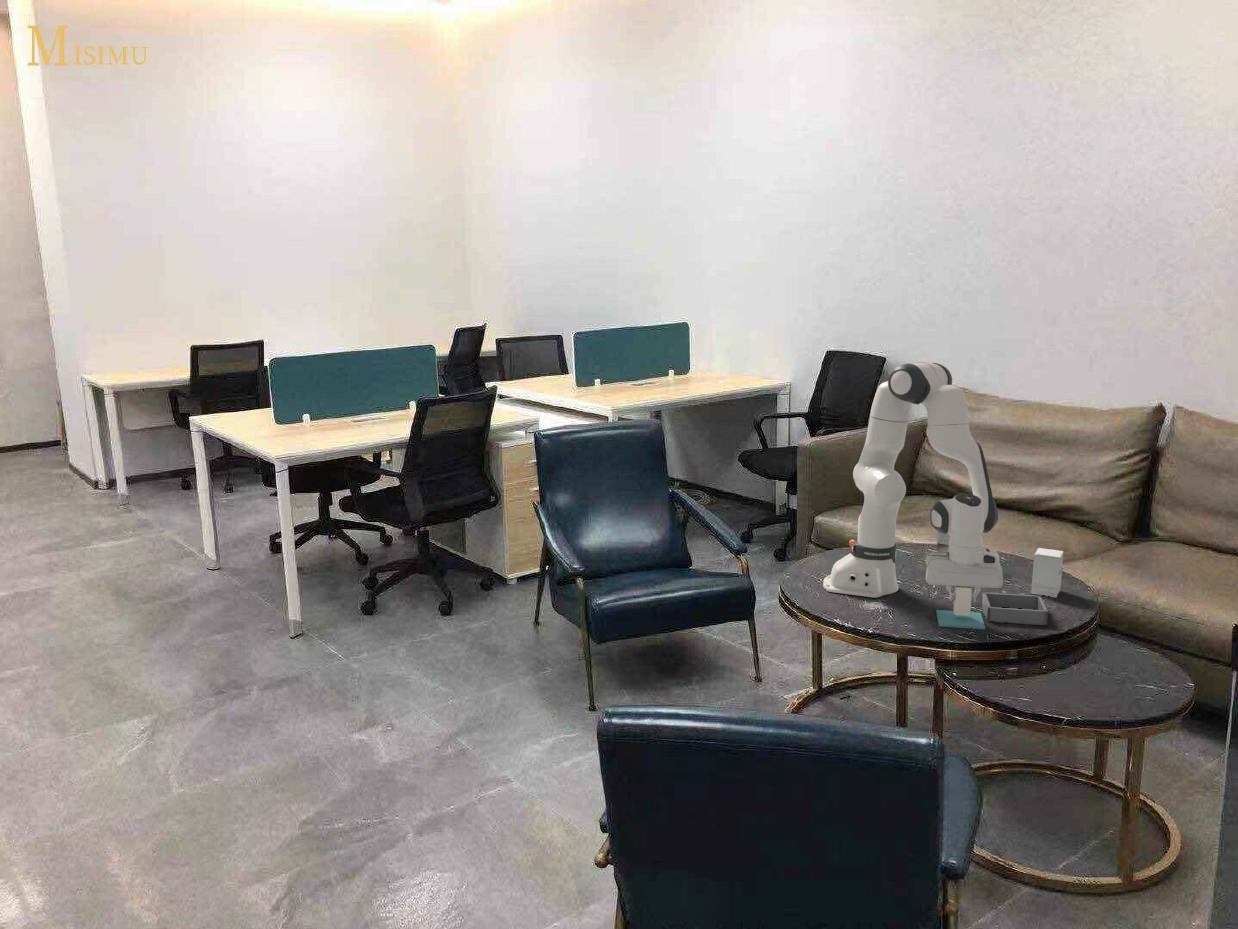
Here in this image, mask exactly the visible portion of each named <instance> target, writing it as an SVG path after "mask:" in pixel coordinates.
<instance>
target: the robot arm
mask: <svg viewBox="0 0 1238 929" xmlns="http://www.w3.org/2000/svg"><path fill="white" fill-rule="evenodd" d="M920 404H922V405H923V406H924V408H925V410H926V413H927V414H926V415H927V435H928V437H927V438H928V442H929V444H930V445H931V447H932V448H933V450H935V451H936V452H937V453H939V454H940V455H942V456H945V457H947V458H951V459H953V460H956V461H958V462H960V463H961V464H963V465H964V466H965V468H966V469H967V472H968V477H969V481H970V487H971V491H972V494H971V493H958V494H956V495H954V496H953V497H952V498H949V499H942V500H938V501H936V502H935V503H934V505H933V506H932V507H931V509H930V516H929V518H930V524H931V525H930V526H932V528H934V529H935V530H936V531H937V533H938V532H940V533H943V534H949V535H950V540H949V552H937V551H931V552H930V553H928V554H927V555H926V556H925V566H926V572H925V582H926V583H927V584H928V585H930V586H931V585H932V586H944V587H945V588H946V591H947V592H948V594H949V601H951V602H952V601H953V602H954V601H955V597H956V595H955V593H954V592H952V589H953V587H955V586H965V587H971V588H974V589H975V590H974V591H973V593H971V603H972V602H974V603H975V602H977V596H978V595H979V594H980V592H981V590H982V589H981V588H986V589H988V588H989V589H1000V588H1002V587H1003V585H1004V574H1003V568H1002V566H1001V564H1000V554H999V553H998V551H996V550H995V549H993V548H989V547H987V546H984V542H983V537H982V536H983V533H984V534H985V533H986V534H987V533H989V532H990V531H992V529H994V528H995V526H997V523H998V521H999V511H998V508H997V504H996V501H995V500H994V496H993V491H992V487H991V482H990V477H989V472H988V468H987V462H986V459H985V455H984V450H983V448H982V446H981V444H980V443H979V442H977V441H975V439H974V437H973V436H972V435H973V434H972V433H971V431H970V429H971V428H970V424H969V423H970V418H969V409H968V403H967V399H966V395H965V393H964V391H963V389H962V388H961V387H959V386H957V385H954V384H953V377H952V374H951V372H950V370H949V369H948V368H947V367H946V366H945V365H942V364H940V363H937V362H925V361H920V362H919V361H918V362H914V363H903V364H901V365H898V366H897V367H895V368H894V369H893V370H892V371H891V372H890V374H889V375H888V379H887V381H884V382H881V383H880V384H879V386H878V387H877V389H876V392H875V395H874V398H873V401H872V405H871V408H870V413H869V419H868V425H867V431H866V437H865V442H864V445H863V449H862V450H861V454H860V457H859V460H858V462H857V463H856V464H855V465H854V468H853V471H852V477H853V480H854V483H855V486H856V488H858V489H859V491H860V492H862V493H863V496H864V500H863V505H862V509H861V513H860V514H859V516H858V518H857V519H858V521H857V522H858V523H857V540H855V539H853V538H852V539H850V540H849V543H848V544H849V547H850V549H849V551H850V553H848V554H846V555H845V556H843V557H842V558H840V559H838V560H837V561H835V563H834V564H833V567H832V568H831V572H830V574H828V575H827V576H826V577H824V578H823V583H822V586H823V588H824V590H825V589H826V590H825V591H827V592H830V593H835V594H837V593H838V594H844V595H852V596H859V597H865V598H866V597H867V598H875V599H876V598H880V597H882V596H886V595H892V594H894V593H896V592H897V591H899V588H900V587H899V585H898V581H897V574H896V560H897V552H898V551H897V543H896V531H897V530H896V526H897V517H898V514H899V509H900V506H901V502H902V501H903V500H904V498H905V496H906V494H907V493H906V492H907V486H906V483H905V481H904V479H903V477H902V475H901V474H900V473H899V472H898V471H896V470H895V464H896V462H897V459H898V456H899V455H900V453H901V451H902V450H903V449H904V446H905V442H906V436H907V435H906V434H907V429H908V424H909V417H910V411H911V407H912V406H913V405H916V406H917V405H920Z"/></svg>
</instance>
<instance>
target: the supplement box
mask: <svg viewBox="0 0 1238 929" xmlns="http://www.w3.org/2000/svg"><path fill="white" fill-rule="evenodd" d="M1064 552H1065V551H1063V550H1058V549H1050V548H1049V549H1048V548H1041V547H1037V549H1036V551H1035V553H1034V555H1033V556H1034V557H1033V564H1032V566H1033V568H1032V578H1031V580H1032V581H1031V582H1032V583H1031V591H1030V593H1031V594H1030V595H1037V596H1042V595H1045V596H1044V597H1048V596H1050V598H1055V599H1056V598H1057V597H1058V595H1059V593H1060V592H1061V586H1062V578H1063V577H1062V576H1063V563H1064V555H1065V554H1064Z"/></svg>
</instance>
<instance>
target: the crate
mask: <svg viewBox="0 0 1238 929" xmlns="http://www.w3.org/2000/svg"><path fill="white" fill-rule="evenodd" d="M1041 596H1042V595H1036V594H1018V593H1002V592H1000V593H999V592H982V596H981V598H982V599H981V607H982V610H983V614H984V613H985V614H984V616H986V617H985V619H987V620H986V622H989V621H995V622H994V623H1004V622H1008V623H1009V624H1023V625H1037V626H1047V625H1048V618H1049V616H1048V615H1049V611H1048V609H1047V607H1046V605H1045V603H1044V600H1043V599H1042V597H1041ZM1002 607H1009V608H1002ZM1018 608H1022V609H1018ZM1034 609H1035V610H1034Z"/></svg>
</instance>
